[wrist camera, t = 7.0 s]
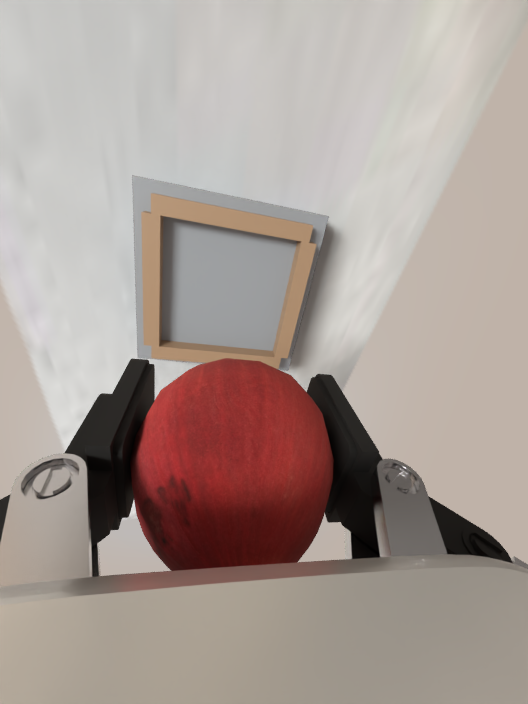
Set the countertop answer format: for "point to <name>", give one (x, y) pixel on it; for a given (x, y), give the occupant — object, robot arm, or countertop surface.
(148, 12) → the countertop surface
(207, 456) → the pomegranate
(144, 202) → the stand
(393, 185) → the countertop surface
